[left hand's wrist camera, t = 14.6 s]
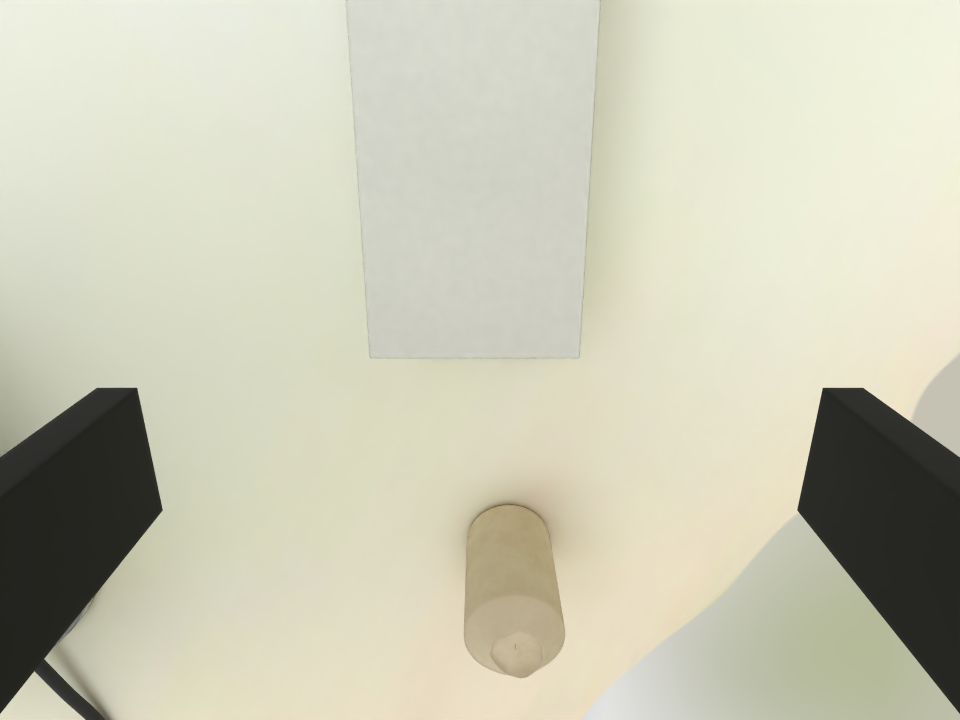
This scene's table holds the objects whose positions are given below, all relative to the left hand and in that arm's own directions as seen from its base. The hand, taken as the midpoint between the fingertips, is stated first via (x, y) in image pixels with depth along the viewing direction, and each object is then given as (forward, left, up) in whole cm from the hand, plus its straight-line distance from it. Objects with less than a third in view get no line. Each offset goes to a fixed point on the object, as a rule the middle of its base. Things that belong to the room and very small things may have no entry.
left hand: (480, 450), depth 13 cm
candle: (-20, +2, -25) cm, 32 cm away
